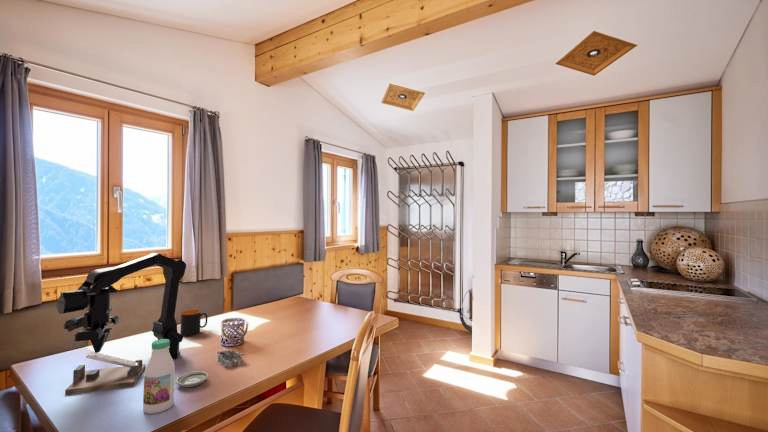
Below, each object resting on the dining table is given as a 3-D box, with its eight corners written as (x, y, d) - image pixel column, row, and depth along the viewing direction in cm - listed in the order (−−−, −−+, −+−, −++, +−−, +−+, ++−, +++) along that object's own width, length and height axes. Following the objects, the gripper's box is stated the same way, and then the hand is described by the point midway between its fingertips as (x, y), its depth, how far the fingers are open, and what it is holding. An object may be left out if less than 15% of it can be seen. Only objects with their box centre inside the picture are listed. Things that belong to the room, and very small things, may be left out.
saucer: (173, 393, 109) (173, 386, 110) (178, 379, 118) (178, 373, 118) (206, 388, 113) (206, 381, 113) (208, 375, 122) (209, 369, 122)
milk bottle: (152, 400, 105) (155, 336, 105) (178, 400, 105) (181, 336, 105) (136, 414, 97) (139, 345, 97) (164, 414, 98) (167, 346, 98)
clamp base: (145, 368, 126) (146, 353, 126) (133, 385, 113) (133, 369, 113) (85, 374, 119) (86, 359, 119) (65, 394, 106) (65, 377, 106)
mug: (210, 331, 167) (211, 311, 167) (184, 338, 157) (185, 316, 157) (203, 328, 172) (204, 307, 172) (177, 333, 162) (178, 312, 162)
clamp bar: (139, 366, 121) (141, 362, 121) (136, 369, 118) (138, 366, 118) (89, 354, 115) (91, 350, 116) (85, 358, 113) (87, 354, 113)
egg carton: (243, 364, 132) (244, 354, 132) (223, 369, 127) (224, 359, 127) (235, 355, 140) (235, 345, 140) (215, 360, 135) (216, 349, 135)
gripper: (82, 301, 121) (80, 344, 121) (54, 316, 103) (52, 367, 103) (119, 299, 125) (118, 341, 125) (98, 313, 108) (97, 362, 107)
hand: (97, 352), depth 115 cm, fingers closed
